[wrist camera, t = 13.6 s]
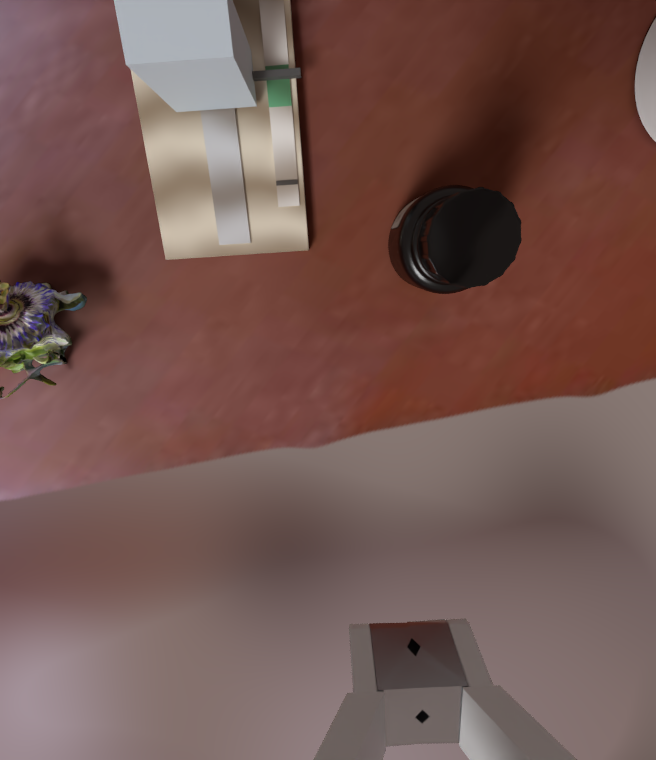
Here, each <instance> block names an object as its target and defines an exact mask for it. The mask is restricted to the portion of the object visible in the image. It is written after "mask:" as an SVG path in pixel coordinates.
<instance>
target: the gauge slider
mask: <svg viewBox="0 0 656 760" xmlns="http://www.w3.org/2000/svg"><path fill="white" fill-rule="evenodd" d="M114 3H115V9H116V14H117V19H118V25H119V30H120V35H121V41H122V46H123V51H124V57H125V62H126V65H127V66H128V67H129V68H130V69H131V70H132V71H133V72H134V73H135V74H136V75H137V76H138V77H140V78H141V79H142V80H143V81H144V82H145V83H146V84H147V85H148V86H149V87H150V88H151V89H152V90H153V91H154V92H155V93H157V94H158V95H159V96H160V97H161V98H162V99H163V100H164V101H165V102H166V103H167V104H168V105H169V106H170V107H171V108H173V109H174V110H175V111H176V112H186V111H200V110H214V109H228V108H242V107H255V106H257V103H256V93H255V84H254V81H266V80H280V79H294V78H301V70H300V68H289V69H275V70H262V71H253V64H252V54H251V49H250V46H249V43H248V41H247V38H246V35H245V33H244V30H243V27H242V24H241V22H240V19H239V16H238V14H237V11H236V8H235V5H234V3H233V0H114Z"/></svg>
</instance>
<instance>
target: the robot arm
mask: <svg viewBox="0 0 656 760" xmlns="http://www.w3.org/2000/svg"><path fill="white" fill-rule="evenodd" d="M635 98H636V105H637V109H638V113H639V116H640V119H641V121H642V123H643V126H644V127H645V129H646V131H647V132H648V134H649V135H650V136H651V137H652V139H653V140H654V141H655V142H656V18H655V20H654V22H653V23H652V25H651V27H650V29H649V31H648V33H647V35H646V38H645V40H644V43H643V45H642V48H641V51H640V54H639V58H638V63H637V68H636V75H635ZM349 634H350V650H351V666H352V682H353V693H347V695H346V697H345V699H344V701H343V703H342V704H341V706H340V709H339V710H338V712H337V715H336V716H335V719H334V720H333V722H332V725H331V726H330V728H329V730H328V732H327V734H326V736H325V738H324V740H323V742H322V744H321V746H320V748H319V751H318V752H317V754H316V756H315V758H314V760H383V757H384V754H385V751H386V746H399V745H411V744H429V743H459V746H460V747H461V749H462V750H463V751H464V753H465V754H466V755H467V757H468V758H469V760H577V759H576V758H575V757H574V756H573V755H572V754H571V753H570V752H568V751H567V750H566V749H565V748H564V747H563V746H562V745H561V744H560V743H559V742H558V741H557V740H556V739H555V738H554V737H553V736H552V735H551V734H550V733H549V732H548V731H547V730H546V729H545V728H544V727H542V726H541V725H540V724H539V723H538V722H537V721H536V720H535V719H534V718H533V717H532V716H531V715H530V714H529V713H528V712H527V711H526V710H525V709H524V708H523V707H522V706H521V705H520V704H519V703H517V702H516V701H515V700H514V699H513V698H512V697H511V696H510V695H509V694H508V693H507V692H506V691H505V690H504V689H503V688H502V687H501V686H493V683H492V680H491V678H490V676H489V673H488V670H487V668H486V665H485V663H484V660H483V658H482V655H481V653H480V650H479V647H478V645H477V642H476V640H475V637H474V635H473V632H472V630H471V627H470V624H469V622H468V621H467V620H466V619H451V620H445V619H441V620H428V621H413V622H407V623H376V624H375V623H373V624H350V626H349Z"/></svg>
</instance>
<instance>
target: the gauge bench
mask: <svg viewBox="0 0 656 760" xmlns="http://www.w3.org/2000/svg"><path fill="white" fill-rule="evenodd" d="M233 3H234V5H235V8H236V11H237V14H238V16H239V19H240V22H241V24H242V27H243V30H244V33H245V35H246V38H247V41H248V43H249V46H250V49H251V54H252V64H253V71H262V70H275V69H289V68H296V67H295V54H294V41H293V27H292V14H291V0H233ZM131 74H132V79H133V84H134V90H135V95H136V101H137V106H138V112H139V117H140V122H141V128H142V133H143V139H144V144H145V149H146V155H147V160H148V166H149V171H150V177H151V182H152V187H153V193H154V198H155V204H156V209H157V215H158V220H159V225H160V231H161V236H162V242H163V247H164V253H165V258H166V260H168V259H184V258H199V257H214V256H229V255H244V254H259V253H273V252H288V251H303V250H309V242H308V228H307V215H306V201H305V188H304V175H303V161H302V148H301V134H300V121H299V108H298V94H297V81H296V78H294V79H280V80H266V81H254V84H255V93H256V103H257V106H255V107H242V108H228V109H214V110H200V111H186V112H176V111H175V110H174V109H173V108H171V107H170V106H169V105H168V104H167V103H166V102H165V101H164V100H163V99H162V98H161V97H160V96H159V95H158V94H157V93H155V92H154V91H153V90H152V89H151V88H150V87H149V86H148V85H147V84H146V83H145V82H144V81H143V80H142V79H141V78H140V77H138V76H137V75H136V74H135V73H134V72H133V71H132V70H131Z"/></svg>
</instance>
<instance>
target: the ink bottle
mask: <svg viewBox="0 0 656 760" xmlns="http://www.w3.org/2000/svg"><path fill="white" fill-rule="evenodd" d="M520 243H521V220H520V218H519V217H518V214H517V212H516V210H515V208H514V204H513V203H512V202H510V201H509V200H508V199H507V198H505V197H504V196H503V195H502V194H501V193H500V192H499V191H493V190H489V189H485V188H483V187H478V188H475V189H473V188H470V187H467V186H461V185H449V186H443V187H439V188H436V189H434V190H431V191H429V192H427V193H425V194H424V195H422V196H420V197H419V198H417V199H415V200H414V201H412V202H410V203H409V204H408V205H406V206H405V207H404V208H403V209H402V210H401V211H400V213H399V214H398V215H397V217H396V219H395V220H394V222H393V225H392V227H391V231H390V235H389V243H388V248H389V256H390V260H391V263H392V265H393V267H394V269H395V271H396V272H397V274H398V275H399V276H400V277H401V278H402V279H403V280H404V281H406V282H407V283H409V284H411V285H413V286H415V287H418V288H421V289H423V290H426V291H429V292H433V293H439V294H450V293H456V292H460V291H463V290H466V289H468V288H471V287H476V286H481V285H482V286H484V285H487V284H488V283H489V282H491V281H493V280H494V279H496V278H498V277H500V276H502V275H503V274H504V272H505V270H506V269H507V268H508V267H509V266H510V264H511V263H512V262H513V261H514V260H515V258H516V257H515V256H516V253H517V251H518V248H519V245H520Z"/></svg>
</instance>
